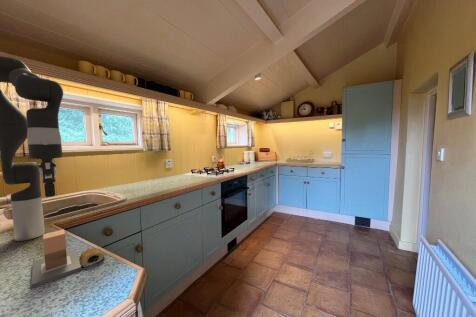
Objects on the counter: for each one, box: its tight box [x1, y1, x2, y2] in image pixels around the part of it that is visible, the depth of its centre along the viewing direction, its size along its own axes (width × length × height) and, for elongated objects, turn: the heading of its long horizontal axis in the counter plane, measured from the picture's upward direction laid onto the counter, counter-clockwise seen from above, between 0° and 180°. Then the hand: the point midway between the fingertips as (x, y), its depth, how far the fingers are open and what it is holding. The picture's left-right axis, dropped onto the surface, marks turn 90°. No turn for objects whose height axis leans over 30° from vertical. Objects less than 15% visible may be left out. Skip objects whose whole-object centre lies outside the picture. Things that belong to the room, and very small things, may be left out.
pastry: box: [78, 247, 105, 268], centre depth 69 cm, size 9×7×4 cm
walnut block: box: [43, 248, 67, 270], centre depth 64 cm, size 5×5×5 cm
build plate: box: [30, 249, 83, 289], centre depth 64 cm, size 16×11×1 cm
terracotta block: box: [42, 229, 67, 255], centre depth 64 cm, size 5×5×5 cm
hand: (50, 194), depth 63 cm, fingers open, 8 cm apart
